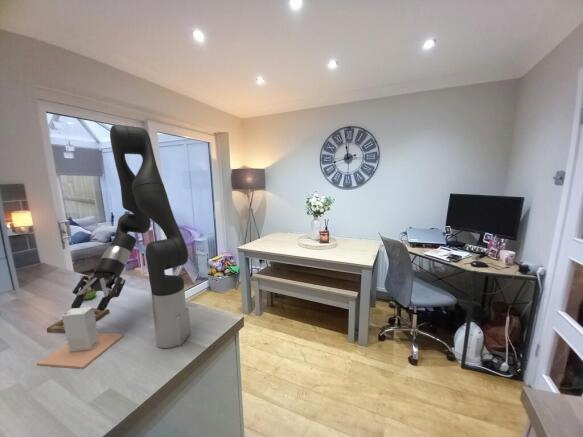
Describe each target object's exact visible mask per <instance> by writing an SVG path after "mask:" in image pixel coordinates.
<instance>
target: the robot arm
mask: <svg viewBox="0 0 583 437" xmlns="http://www.w3.org/2000/svg"><path fill="white" fill-rule="evenodd" d="M109 138H110V139H109V140H110V145H111V150H112V155H113V159H114V165H115V168H116V172H117V177H118V180H119V184H120V193H121V205H122V207H123V209H124V210H126V211H128V212H130V213H123V214H122V215H120V217H119V218H118V221H117V225H116V230H115V234H114V236H113V238H112V241H111V243H110V244H109V245H108V247H107V249H105V251H104V253H103V255H102V256H101V258H100V259H99V261H98V262H97V265H96V266H95V268H94V270H93V271H94V272H93V273H94V274H93V275H92V276H91V277H87V275H83V277H82V276H81V278H80V279H81V280H80V279H79V282H78V283H77V284H76V286H75V287H74V289H72V290H73V291H72V294H74V295H76V296H75V298H74V300H73V302H72V303H71V307H70V308H71V309H72V308H81V306H82V304H83V303H84V301H85V300H86V299H85V297H86V296H87V295H89V294H90V293H93V292H94V291H97V292H100V291H101V292H103V296H102V297H101V299H100V301H99V304H98V305H97V307H96V309H97V310H99V311H104V309H107V307H108V305H109V303H110V301H111V299H113V298H114V299H115V298H119V296H120V295H121V292H122V290H123V288H124V285H125V284H126V279H125V278H123V277H121V275H122V273H123V271H124V269H125V267H126V265H127V264H128V261H129V259H130V256H131V254H132V252H133V250H134V249H135V246H136V244H137V238H136V237H135V236H133V235H132V234H129V232H130V233H135V234H146V233H148V231H149V230H150V228H151V225H152V224H151V223H152V221H153V222H154V224H155V223H156V225H157V226H158V227H159V228H160V229H161V230H162V232H163V233H164V235H165V237H166V238H165V239H159V240H154V241H150V242H148V244H147V245H146V246H145V260H146V265H147V273H148V277H149V284H150V290H151V291H150V292H151V301H152V302H151V303H152V311H153V313H152V314H153V324H154V335H155V344H156V347H158V348H160V349H170V348H175V347H178V346H179V347H180V346H182V345H183V344H184V342H185V341H186V340H187V339H188V337H189V336H190V335H191V324H190V323H191V322H190V309H189V307H187V306H186V305H187V304H186V303H187V302H186V293H185V292H186V291H185V279H184V277H182V276H180V275H173V274H171V275H170V274H166V273H165V272H166V270H169V269H173V268H179V267H181V266H184V265H186V264H187V262H188V259H189V251H188V247H187V244H186V242H185V239H184V236H183V234H182V233H181V232H182V231H181V229H180V228H179V226H178V223H177V221H176V218H175V216H174V213H173V210H172V206H171V203H170V201H169V198H168V194H167V191H166V188H165V184H164V182H163V179H162V176H161V174H160V171H159V168H158V166H157V161H156V157H155V154H154V149H153V144H152V140H151V138H150V134H149V132H148V131H147V130H146V128H143V127H139V126H133V125H121V124H113V125H111V127H110V130H109ZM126 155H140V156H141V159H142V161H141V165H140V167H139V170H137V173H136V174H135V173H134V171H132V169H131V168H130V166H129V165H128V162H127V160H126ZM89 287H91V289H90V288H89ZM85 291H87V292H85ZM84 292H85V293H84Z"/></svg>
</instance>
